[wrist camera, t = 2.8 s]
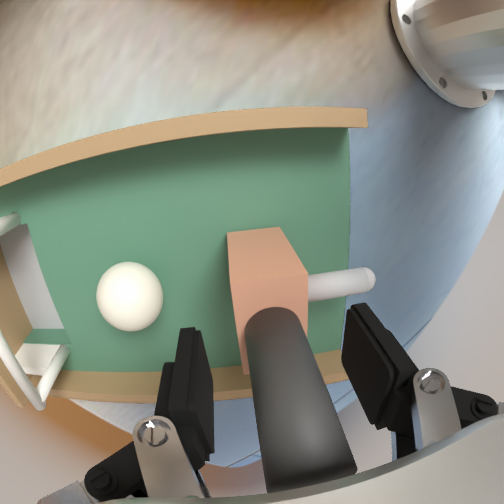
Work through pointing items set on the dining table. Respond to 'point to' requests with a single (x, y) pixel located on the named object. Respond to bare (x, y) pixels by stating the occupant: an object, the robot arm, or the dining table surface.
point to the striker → (288, 357)
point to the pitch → (164, 245)
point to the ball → (129, 296)
